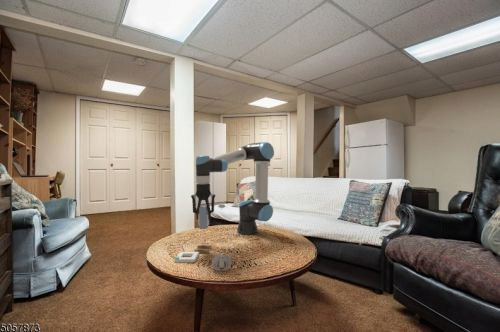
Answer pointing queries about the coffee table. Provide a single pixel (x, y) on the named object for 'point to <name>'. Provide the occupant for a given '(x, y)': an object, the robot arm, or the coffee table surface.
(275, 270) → the coffee table surface
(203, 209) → the plug
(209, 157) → the robot arm
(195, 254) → the port
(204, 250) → the wooden rail base
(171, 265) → the coffee table surface
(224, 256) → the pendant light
